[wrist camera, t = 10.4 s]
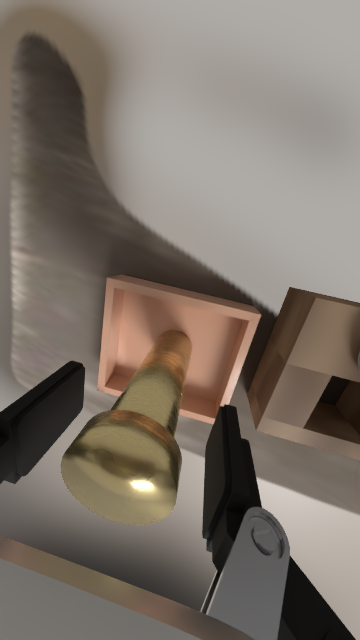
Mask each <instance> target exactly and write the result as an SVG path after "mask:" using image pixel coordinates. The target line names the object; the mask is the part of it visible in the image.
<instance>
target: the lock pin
mask: <svg viewBox="0 0 360 640" xmlns="http://www.w3.org/2000/svg"><path fill="white" fill-rule="evenodd" d="M191 354H192V343H191V341H190V339H189V337H188V336H187V335H186V334H184V333H183V332H180V331H177V330H168V331H165V332H164V333H162V334H161V335H160V336H159V337H158V339H157V340H156V342H155V343H154V345H153V346H152V348H151V349H150V351H149V352H148V354H147V356H146V357H145V359H144V360H143V362H142V363H141V365H140V366H139V368H138V369H137V371H136V372H135V374H134V375H133V377H132V378H131V380H130V381H129V383H128V384H127V386H126V387H125V389H124V390H123V392H122V393H121V395H120V396H119V398H118V399H117V401H116V403H115V404H114V406H113V407H112V409H111V410H109V411H105V412H102V413H99V414H97V415H96V416H94V417H93V418H92V419H90V420H89V421H88V422H87V424H86V425H85V426H84V428H83V429H82V430H81V432H80V433H79V434H78V436H77V437H76V438H75V440H74V441H73V442H72V444H71V445H70V446H69V448H68V449H67V450H66V452H65V453H64V455H63V457H62V461H61V473H62V477H63V480H64V482H65V484H66V486H67V488H68V489H69V491H70V492H71V493H72V495H73V496H74V497H75V498H76V499H77V500H78V501H79V502H80V503H81V504H82V505H84V506H85V507H86V508H88V509H89V510H91V511H92V512H94V513H96V514H97V515H99V516H101V517H103V518H106V519H109V520H111V521H114V522H118V523H122V524H128V525H147V524H152V523H155V522H158V521H160V520H162V519H164V518H165V517H166V516H168V515H169V514H170V513H171V511H172V510H173V508H174V506H175V503H176V498H177V491H178V484H179V478H180V471H181V464H182V457H181V452H180V449H179V446H178V444H177V442H176V440H175V439H174V435H175V431H176V426H177V421H178V416H179V411H180V407H181V402H182V397H183V392H184V388H185V383H186V378H187V373H188V369H189V364H190V359H191Z"/></svg>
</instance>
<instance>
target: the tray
mask: <svg viewBox="0 0 360 640" xmlns="http://www.w3.org/2000/svg"><path fill="white" fill-rule="evenodd" d="M260 317H261V314H260V313H259V311H258V310H257V309H256V308H255V307H254V306H252V305H248V304H243V303H239V302H235V301H231V300H227V299H223V298H218V297H214V296H210V295H206V294H202V293H198V292H193V291H189V290H185V289H181V288H177V287H172V286H168V285H164V284H160V283H156V282H152V281H147V280H143V279H139V278H135V277H131V276H127V275H117V276H112V277H107V283H106V295H105V307H104V318H103V330H102V342H101V354H100V366H99V377H98V389H97V390H98V391H101V392H105V393H108V394H111V395H115V396H118V397H119V396H120V395H121V393H122V392H123V390H124V389H125V387H126V386H127V384H128V383H129V381H130V380H131V378H132V377H133V375H134V374H135V372H136V371H137V369H138V368H139V366H140V365H141V363H142V362H143V360H144V359H145V357H146V356H147V354H148V352H149V351H150V349H151V348H152V346H153V345H154V343H155V342H156V340H157V339H158V337H159V336H160V335H161V334H162V333H164V332H165V331H168V330H177V331H180V332H183V333H184V334H186V335H187V336H188V337H189V339H190V341H191V343H192V354H191V359H190V364H189V369H188V373H187V378H186V383H185V388H184V392H183V397H182V402H181V407H180V411H179V414H180V415H183V416H186V417H190V418H193V419H197V420H200V421H203V422H207V423H210V424H214V421H215V418H216V416H217V413H218V410H219V407H220V406H224V404H227V405H229V402H230V399H231V396H232V394H233V391H234V388H235V385H236V383H237V380H238V377H239V375H240V372H241V369H242V366H243V364H244V361H245V358H246V355H247V353H248V350H249V347H250V344H251V342H252V339H253V336H254V333H255V331H256V328H257V325H258V323H259V320H260Z"/></svg>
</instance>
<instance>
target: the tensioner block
mask: <svg viewBox="0 0 360 640" xmlns="http://www.w3.org/2000/svg"><path fill="white" fill-rule="evenodd" d="M332 375H333V376H337V377H340V378H344V379H348V380H350V381H349V383H348V385H347V386H346V388H345V390H344V391H343V393H342V395H341V396H340V398H339V400H338V402H337V403H336V405H332V404H329V403H325V402H321V401H318V400H319V399H320V397H321V395H322V393H323V391H324V390H325V388H326V386H327V384H328V382H329V381H330V379H331V377H332ZM247 396H248V400H249V404H250V408H251V412H252V416H253V420H254V424H255V428H256V431H259V432H262V433H266V434H269V435H273V436H276V437H280V438H283V439H287V440H290V441H293V442H297V443H300V444H304V445H307V446H311V447H314V448H317V449H321V450H324V451H328V452H331V453H335V454H338V455H342V456H345V457H348V458H352V459H355V460H359V461H360V303H357V302H352V301H348V300H344V299H339V298H335V297H331V296H327V295H322V294H318V293H314V292H309V291H305V290H300V289H295V288H292V287H290V288H289V290H288V292H287V295H286V297H285V300H284V303H283V305H282V308H281V310H280V313H279V315H278V318H277V320H276V323H275V325H274V328H273V330H272V333H271V335H270V338H269V340H268V343H267V345H266V348H265V350H264V353H263V355H262V358H261V361H260V363H259V366H258V368H257V371H256V373H255V376H254V378H253V381H252V383H251V386H250V388H249V391H248V393H247Z"/></svg>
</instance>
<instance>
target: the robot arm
mask: <svg viewBox="0 0 360 640" xmlns="http://www.w3.org/2000/svg"><path fill="white" fill-rule="evenodd" d="M84 381H85V367H83V364H82V363H79V362H75V361H70V362H68V363H67V364H65V365H64V366H63V367H61V368H60V369H59V370H57V371H56V372H55V373H53V374H52V375H50V376H49V377H48V378H46V379H45V380H44V381H42V382H41V383H40V384H38V385H37V386H35V387H34V388H33V389H31V390H30V391H29V392H27V393H26V394H25V395H23V396H22V397H20V398H19V399H18V400H16V401H15V402H14V403H12V404H11V405H10V406H8V407H7V408H5V409H4V410H3V411H1V412H0V484H1V483H2V481H4V480H5V481H8V482H11V483H14V484H15V483H16V482H17V481H18V480H19V479H20V478H21V477H22V476H26V475H27V474H28V473H29V472H30V471H31V470H32V468H33V467H34V466H35V465H36V463H38V461H39V460H40V459H41V458H42V457H43V455H44V454H45V453H46V452H47V451H48V450H49V448H50V447H51V446H52V445H53V444H54V443H55V441H56V440H57V439H58V438H59V437H60V436H61V434H62V433H63V432H64V431H65V430H66V428H67V427H68V426H69V425H70V424H71V422H72V421H73V420H74V419H75V418H76V417H77V416H78V414H79V413H80V412H81V410H82V408H83V399H84ZM202 533H203V534H202V535H203V538H205V539H207V551H209V552H212V560H213V563H214V565H215V567H216V569H217V571H216V573H215V576H214V578H213V581H212V583H211V586H210V588H209V591H208V593H207V596H206V598H205V601H204V603H203V606H202V608H201V611H200V612H199V611H196V610H194V609H191V608H189V607H186V606H184V605H182V604H179V603H177V602H174V601H172V600H169V599H167V598H164V597H162V596H159V595H156V594H154V593H151V592H149V591H146V590H143V589H141V588H138V587H135V586H133V585H130V584H128V583H125V582H122V581H120V580H117V579H114V578H112V577H109V576H107V575H104V574H101V573H99V572H96V571H94V570H91V569H88V568H86V567H83V566H80V565H77V564H75V563H72V562H69V561H67V560H64V559H61V558H59V557H56V556H54V555H51V554H48V553H46V552H43V551H40V550H38V549H35V548H32V547H29V546H27V545H24V544H21V543H19V542H16V541H13V540H11V539H8V538H5V537H2V536H0V640H356V639H355V638H354V637H353V636H352V634H351V633H350V632H349V630H348V629H347V628H346V627H345V625H344V624H343V623H342V622H341V620H340V619H339V618H338V616H337V615H336V614H335V613H334V611H333V610H332V609H331V608H330V606H329V605H328V604H327V602H326V601H325V600H324V599H323V597H322V596H321V595H320V594H319V592H318V591H317V590H316V588H315V587H314V586H313V584H312V583H311V582H310V581H309V579H308V578H307V577H306V575H305V574H304V573H303V572H302V570H301V569H300V568H299V567H298V565H297V564H296V563H295V561H294V560H293V559H292V558H291V556H290V546H289V542H288V538H287V536H286V533H285V531H284V529H283V527H282V526H281V524H280V523H279V521H278V520H277V519H276V518H275V517H274V516H273V515H272V514H271V513H270V512H268V511H267V510H265V509H263V508H262V506H261V500H260V495H259V490H258V485H257V480H256V475H255V470H254V464H253V459H252V454H251V449H250V444H249V441H248V440H246V439H242V438H241V435H240V428H239V422H238V415H237V409H236V407H234V406H230V405H227V404H224V406H220V407H219V410H218V413H217V416H216V418H215V421H214V424H213V427H212V430H211V433H210V436H209V438H208V441H207V445H206V452H205V479H204V506H203V530H202Z"/></svg>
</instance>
